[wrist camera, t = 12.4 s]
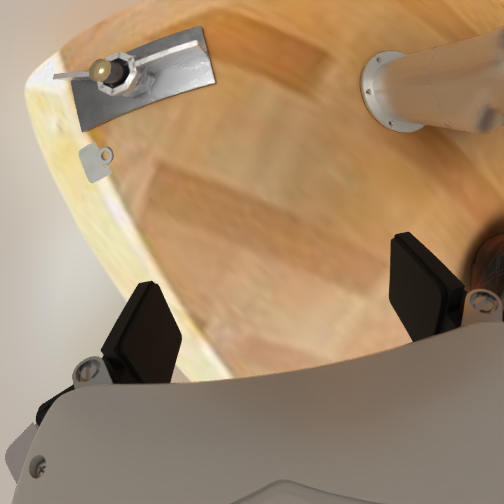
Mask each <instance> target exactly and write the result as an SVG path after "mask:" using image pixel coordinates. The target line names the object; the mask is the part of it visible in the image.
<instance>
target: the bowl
mask: <svg viewBox="0 0 504 504" xmlns="http://www.w3.org/2000/svg"><path fill="white" fill-rule="evenodd" d="M474 289H486V290H489V291H491V292H493V293H495V294H496V295H497V296H498V297H499V298H500V300H501V302H502V310H503V311H504V233H503V234H500V235H496V236H493V237H491V238H489V239H488V240H486V241H485V243H484V244H483V245H482V246H481V248H480V249H479V250H478V253H477V256H476V260H475V261H474V262H473V264H472V266H471V284H470V291H472V290H474Z"/></svg>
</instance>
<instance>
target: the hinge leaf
mask: <svg viewBox="0 0 504 504" xmlns="http://www.w3.org/2000/svg"><path fill="white" fill-rule="evenodd" d="M131 56H133V57H136V58H138V59H139V60H140V59H141V58H140V57H137V56H135V55H131ZM126 63H128V61H126V60H123V61H120V62H118V64H121V65H125V64H126ZM141 70H142V76H141V77H140V79H139V81H138V83H137V84H136V86H135V88H134V90H132V91H129V92H127V93H125V94H122V95H129V96H132V95H133V94H134V93H136V92H137V91H138V90H139V89H140V88H142V87H143V86H144V85H145V82H146V77H147V73H148V68H147V67H145V68H142V69H141ZM53 79H60V80H73V81H79V80H92V79H91V78H90V76H89V71H84V72H71V73H60V74H54V77H53ZM110 86H112V87H114V88H116V87H118V85H117V84H112V83H110Z"/></svg>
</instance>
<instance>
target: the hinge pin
mask: <svg viewBox="0 0 504 504" xmlns="http://www.w3.org/2000/svg"><path fill="white" fill-rule="evenodd" d="M129 74H130V69H129V67H128V66H124V65H121V64H118V63H115V62H111V61H108V60H104V59H99V60H97V61H95V62H94V63H93V64H92V65H91V67H90V69H89V76H90V78H91V79H92V80H93V81H98V82H105V83H112V84H119V85H123V84H124V83H125V81H126V79H127V77H128V76H129Z"/></svg>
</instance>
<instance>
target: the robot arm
mask: <svg viewBox="0 0 504 504" xmlns="http://www.w3.org/2000/svg"><path fill="white" fill-rule="evenodd" d="M376 59H377V60H378V62H377V60H376ZM360 88H361V94H362V97H363V100H364V103H365V105H366V107H367V109H368V111H369V112H370V113H371V115H372V116H373V117H374V118H375V119H376V120H377V121H378V122H379V123H380V124H382V125H383V126H384V127H386V128H388V129H390V130H393V131H397V132H403V133H408V132H414V131H417V130H419V129H421V128H423V127H424V126H425V125H429V126H436V127H442V128H448V129H454V130H459V131H464V132H469V133H475V134H486V133H490V132H493V131H495V130H497V129H498V128H499V127H501V126H502V125H503V124H504V26H502V27H499V28H497V29H495V30H492V31H490V32H488V33H485V34H482V35H479V36H477V37H473V38H469V39H465V40H462V41H458V42H454V43H450V44H446V45H442V46H438V47H434V48H430V49H427V50H423V51H420V52H416V53H413V54H409V55H407V54H405V53H402V52H398V51H385V52H382V53H379V54H377V55H375V56H373V57H372V58H371V59H369V61H368V62H367V63H366V65H365V66H364V69H363V71H362V74H361V80H360ZM366 91H367V92H368V94H366ZM389 122H390V124H389ZM464 287H465V286H464V285H463V284H462V282H461V281H460V280H459V279H458V278H457V277H456V276H455V275H454V274H453V273H452V272H451V271H450V270H449V269H448V268H447V267H446V266H445V265H444V264H443V263H442V262H441V261H440V260H439V259H438V258H437V257H436V256H435V255H434V254H433V253H432V252H430V251H429V250H428V249H427V248H426V247H425V246H424V245H423V244H422V243H421V242H420V241H419V240H418V239H416V238H415V237H414V236H413V235H412V234H411V233H410V232H404V233H399V234H396V235H395V236H394V238H393V239H391V256H390V285H389V300H390V303H391V305H392V306H393V308H394V310H395V311H396V313H397V315H398V316H399V318H400V320H401V322H402V323H403V325H404V327H405V329H406V330H407V332H408V334H409V336H410V337H411V339H412V341H413V342H412V343H408V344H405V345H402V346H398V347H395V348H391V349H388V350H384V351H380V352H377V353H373V354H369V355H365V356H361V357H357V358H352V359H348V360H344V361H339V362H334V363H330V364H325V365H320V366H315V367H309V368H304V369H298V370H292V371H286V372H280V373H273V374H266V375H259V376H251V377H243V378H233V379H224V380H213V381H200V382H183V383H170V382H171V378H172V374H173V370H174V367H175V363H176V359H177V356H178V352H179V349H180V345H181V342H182V335H181V332H180V330H179V328H178V326H177V324H176V322H175V320H174V317H173V315H172V313H171V311H170V309H169V307H168V304H167V302H166V300H165V298H164V296H163V293H162V291H161V289H160V287H159V285H158V284H155V283H154V282H153V281H148V282H142V283H139V284H138V285H137V287H136V289H135V290H134V292H133V294H132V295H131V297H130V299H129V300H128V302H127V304H126V306H125V307H124V309H123V311H122V312H121V314H120V316H119V318H118V319H117V321H116V323H115V325H114V326H113V328H112V330H111V332H110V334H109V336H108V337H107V339H106V341H105V343H104V345H103V347H102V348H101V352H102V353H103V355H104V356H103V357H102V358H99V357H95V356H94V357H89V358H87V359H85V360H83V361H82V362H80V363H79V364H78V365H77V366H76V368H75V370H74V372H73V375H72V379H73V385H72V386H70V387H69V388H67V389H65V390H64V391H62V392H61V393H59V394H58V395H56V396H55V397H53V398H52V399H50V400H48V401H47V402H45V403H43V404H42V405H41V406H40V407H39V409H38V412H37V415H36V423H37V424H36V425H35V424H34V423H32V424H31V425H30V426H29V427H28V428H27V429H26V430H25V431H24V432H23V433H22V434H21V435H20V436H19V437H18V438H17V439H16V440H15V441H14V442H13V443H12V444H11V445H10V446H9V448H8V449H7V451H6V454H5V460H6V463H7V465H8V468H9V470H10V472H11V474H12V476H13V477H14V480H15V481H16V483H17V486H16V489H15V493H14V497H13V501H12V504H504V311H503V310H502V302H501V300H500V298H499V297H498V296H497V295H496V294H495V293H493V292H491V291H489V290H486V289H474V290H472V291H470V292H469V293H467V292H466V291H465V290H464Z"/></svg>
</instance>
